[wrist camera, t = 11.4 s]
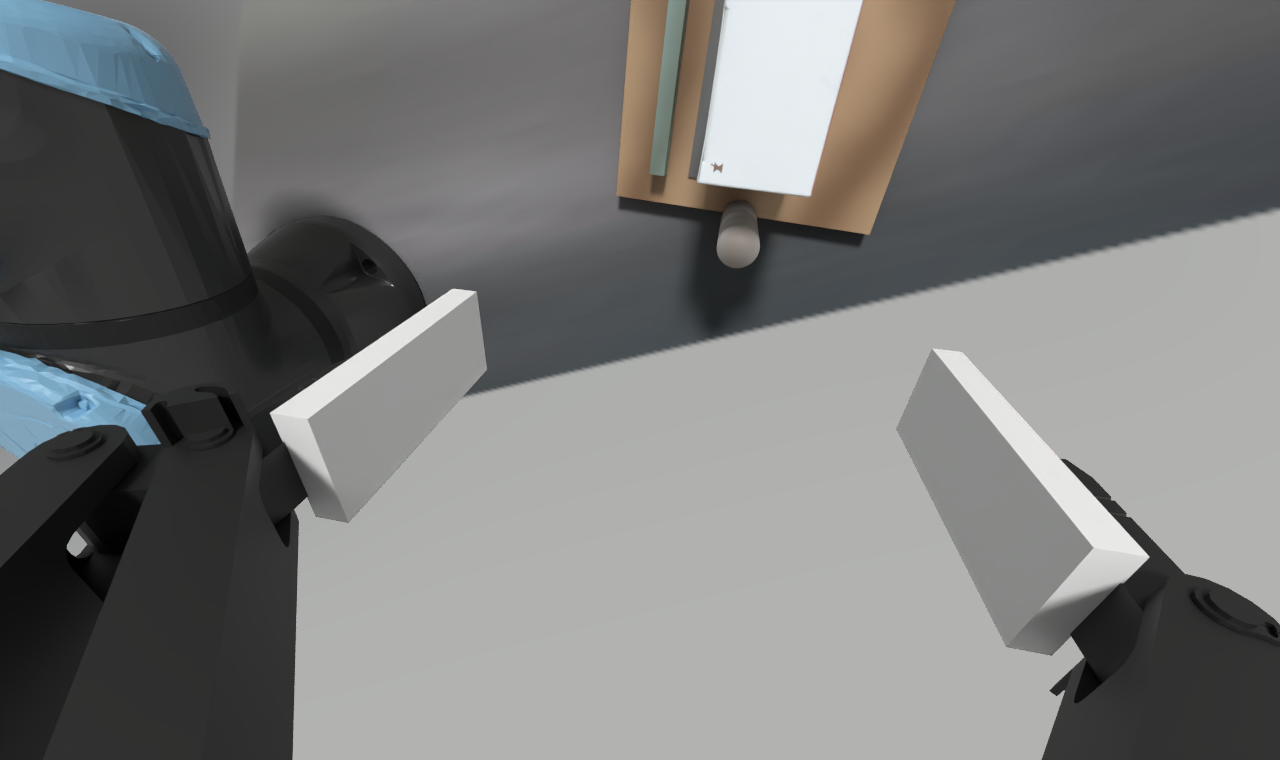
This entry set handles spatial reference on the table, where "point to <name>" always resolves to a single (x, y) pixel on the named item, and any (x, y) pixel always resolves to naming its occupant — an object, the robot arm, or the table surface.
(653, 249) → the table surface
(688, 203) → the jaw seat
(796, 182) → the small box
